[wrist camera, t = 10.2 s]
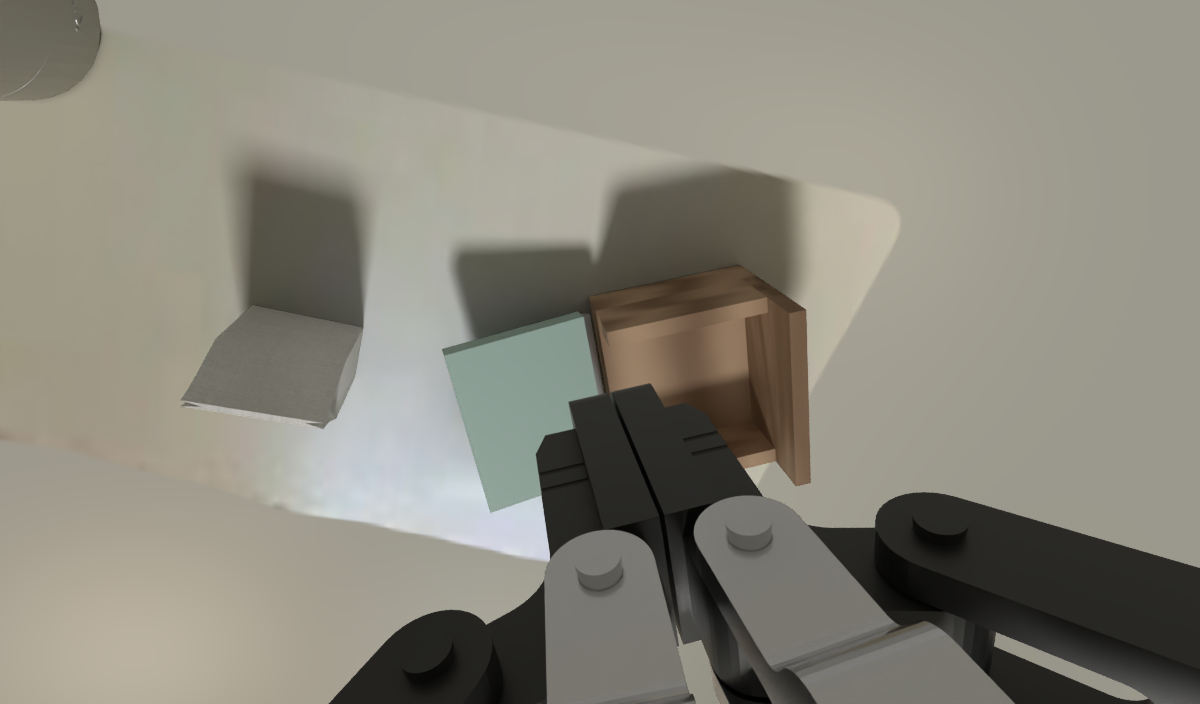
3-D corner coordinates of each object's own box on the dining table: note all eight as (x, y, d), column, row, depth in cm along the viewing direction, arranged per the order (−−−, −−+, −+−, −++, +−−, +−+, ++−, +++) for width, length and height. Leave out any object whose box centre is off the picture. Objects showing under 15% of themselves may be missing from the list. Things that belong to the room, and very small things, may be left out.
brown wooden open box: (614, 441, 48) (645, 523, 39) (588, 296, 43) (616, 352, 34) (749, 409, 49) (810, 482, 40) (739, 264, 44) (806, 309, 35)
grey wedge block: (252, 305, 39) (182, 368, 30) (363, 327, 41) (328, 394, 32) (247, 357, 40) (178, 433, 31) (355, 376, 42) (319, 454, 33)
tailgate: (614, 459, 45) (487, 503, 43) (586, 308, 41) (441, 349, 38) (619, 467, 44) (490, 512, 42) (592, 314, 40) (444, 355, 37)
